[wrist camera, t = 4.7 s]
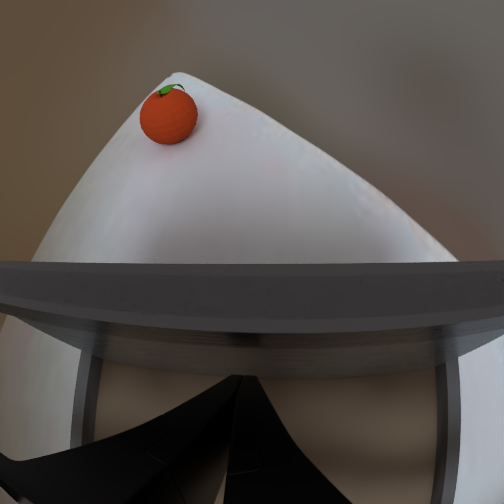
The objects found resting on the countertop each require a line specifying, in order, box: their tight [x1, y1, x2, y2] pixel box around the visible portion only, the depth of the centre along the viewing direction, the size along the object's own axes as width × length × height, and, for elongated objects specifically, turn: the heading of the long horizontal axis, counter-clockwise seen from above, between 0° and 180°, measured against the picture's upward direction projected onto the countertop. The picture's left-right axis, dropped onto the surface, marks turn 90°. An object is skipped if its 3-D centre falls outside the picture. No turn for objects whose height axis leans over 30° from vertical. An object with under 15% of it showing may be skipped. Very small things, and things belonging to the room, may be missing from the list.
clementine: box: [140, 84, 198, 144], centre depth 31 cm, size 8×7×7 cm
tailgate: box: [0, 260, 504, 379], centre depth 12 cm, size 2×22×12 cm, turn 87°
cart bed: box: [70, 350, 461, 504], centre depth 14 cm, size 14×25×4 cm, turn 87°
